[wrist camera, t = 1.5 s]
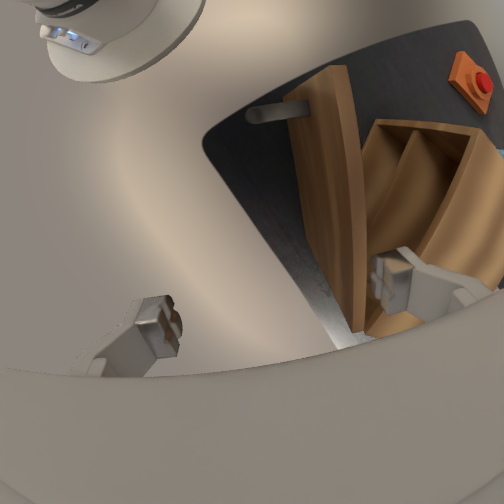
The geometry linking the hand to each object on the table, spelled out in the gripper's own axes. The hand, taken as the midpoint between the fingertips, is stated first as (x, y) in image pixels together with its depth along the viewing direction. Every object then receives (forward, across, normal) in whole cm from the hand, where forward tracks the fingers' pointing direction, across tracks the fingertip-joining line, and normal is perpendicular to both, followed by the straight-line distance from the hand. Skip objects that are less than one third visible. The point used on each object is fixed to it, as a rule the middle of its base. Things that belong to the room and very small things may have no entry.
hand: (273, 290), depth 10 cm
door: (+31, -4, +2) cm, 31 cm away
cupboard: (+31, -21, +9) cm, 38 cm away
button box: (+31, -44, -12) cm, 55 cm away
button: (+27, -44, -12) cm, 53 cm away
